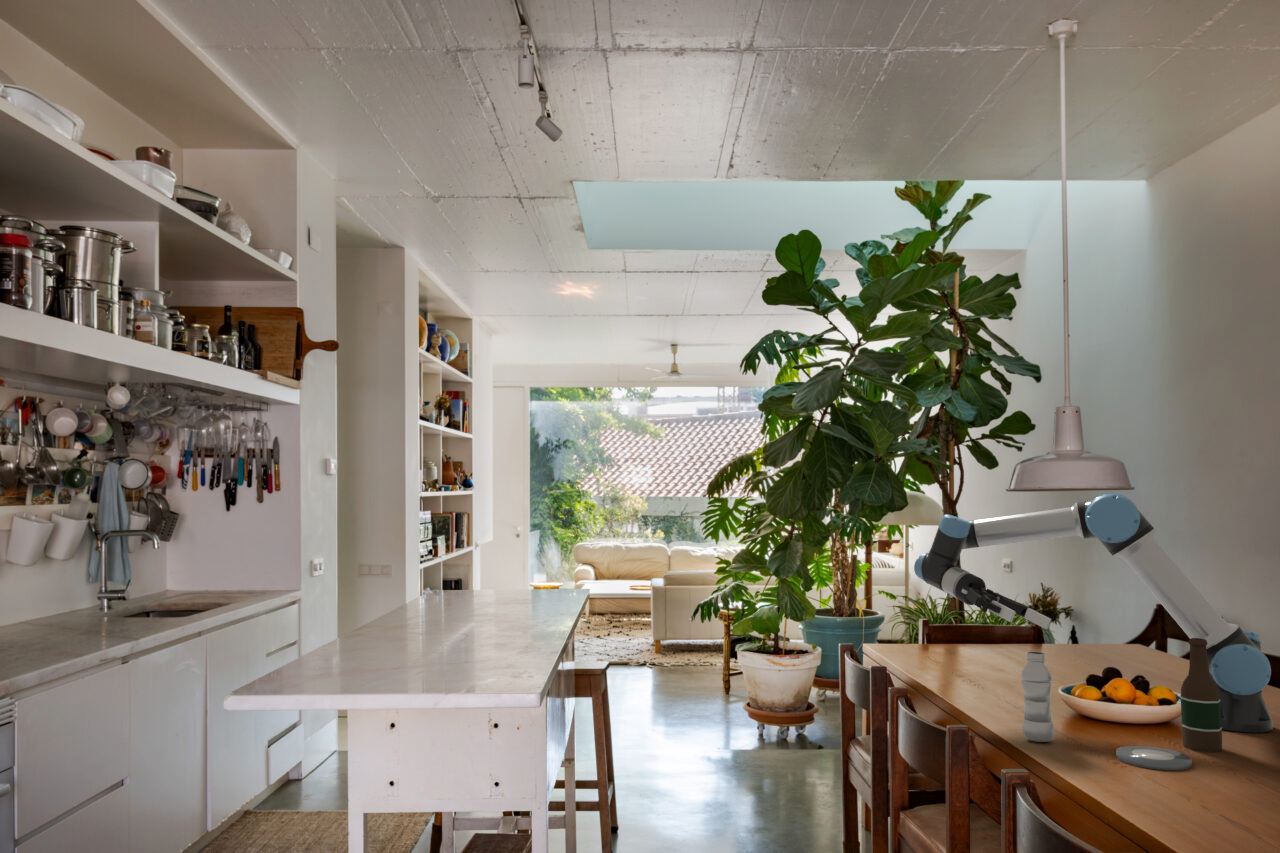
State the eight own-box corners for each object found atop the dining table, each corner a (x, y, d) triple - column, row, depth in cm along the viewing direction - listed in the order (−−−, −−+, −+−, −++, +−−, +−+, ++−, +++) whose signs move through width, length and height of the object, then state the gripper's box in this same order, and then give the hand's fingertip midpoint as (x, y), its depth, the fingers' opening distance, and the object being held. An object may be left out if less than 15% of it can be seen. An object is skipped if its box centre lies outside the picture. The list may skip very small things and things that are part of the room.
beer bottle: (1218, 745, 208) (1213, 637, 210) (1227, 754, 201) (1222, 642, 203) (1178, 742, 211) (1174, 635, 213) (1186, 750, 204) (1182, 640, 205)
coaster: (1184, 755, 200) (1184, 749, 200) (1198, 773, 187) (1197, 766, 187) (1112, 748, 205) (1112, 743, 205) (1121, 766, 192) (1120, 759, 192)
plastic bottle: (1057, 746, 207) (1054, 655, 209) (1025, 744, 209) (1023, 654, 210) (1051, 738, 214) (1048, 651, 215) (1020, 737, 215) (1017, 649, 217)
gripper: (990, 606, 246) (1057, 640, 228) (926, 592, 234) (991, 628, 215) (1000, 580, 245) (1068, 612, 227) (936, 565, 233) (1003, 598, 215)
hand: (1031, 620), depth 221 cm, fingers open, 13 cm apart
